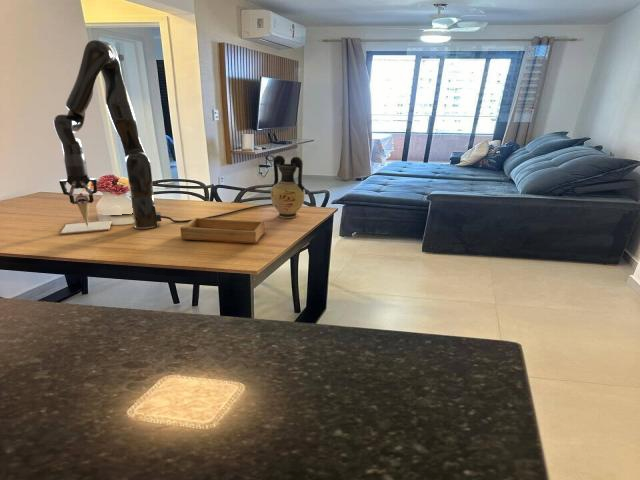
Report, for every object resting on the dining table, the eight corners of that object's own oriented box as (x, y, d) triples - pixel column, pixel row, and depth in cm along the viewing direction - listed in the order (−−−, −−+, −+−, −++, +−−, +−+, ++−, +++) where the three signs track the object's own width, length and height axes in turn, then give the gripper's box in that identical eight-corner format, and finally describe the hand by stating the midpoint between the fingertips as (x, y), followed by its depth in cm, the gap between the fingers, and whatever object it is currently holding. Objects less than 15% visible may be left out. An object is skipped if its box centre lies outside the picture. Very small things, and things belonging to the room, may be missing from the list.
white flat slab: (111, 220, 179) (111, 219, 179) (108, 230, 165) (108, 229, 165) (66, 224, 172) (66, 223, 172) (60, 234, 158) (59, 233, 158)
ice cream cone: (84, 229, 165) (77, 195, 160) (77, 227, 168) (70, 193, 163) (97, 225, 169) (91, 192, 165) (90, 223, 172) (83, 191, 167)
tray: (264, 233, 166) (264, 220, 164) (255, 244, 152) (255, 231, 150) (196, 230, 168) (195, 217, 167) (181, 240, 154) (180, 227, 152)
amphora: (308, 212, 200) (308, 154, 190) (301, 221, 184) (301, 158, 175) (275, 210, 203) (274, 153, 193) (266, 219, 187) (264, 157, 177)
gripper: (53, 166, 154) (61, 206, 159) (94, 164, 159) (100, 204, 165) (57, 163, 160) (64, 202, 166) (96, 162, 166) (102, 200, 171)
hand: (82, 203), depth 165 cm, fingers open, 6 cm apart
